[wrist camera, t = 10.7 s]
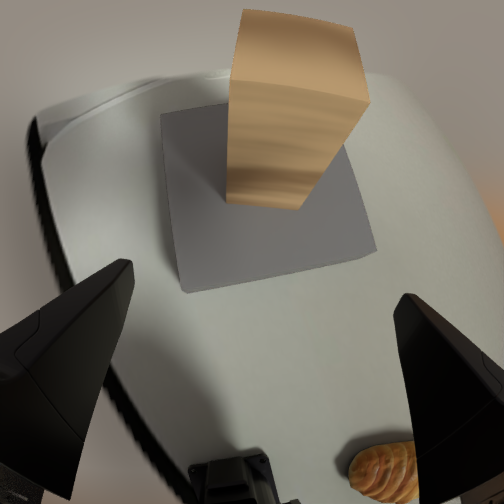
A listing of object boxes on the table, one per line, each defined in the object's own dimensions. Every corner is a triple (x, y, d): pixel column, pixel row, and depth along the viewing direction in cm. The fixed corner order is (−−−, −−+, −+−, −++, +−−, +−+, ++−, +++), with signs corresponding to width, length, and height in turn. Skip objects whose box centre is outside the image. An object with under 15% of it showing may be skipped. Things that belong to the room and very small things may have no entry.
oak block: (297, 210, 21) (370, 102, 9) (226, 203, 21) (229, 79, 9) (298, 149, 22) (352, 27, 10) (233, 142, 22) (243, 8, 10)
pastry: (330, 491, 20) (344, 512, 16) (362, 429, 21) (382, 444, 17) (405, 494, 20) (424, 509, 16) (434, 439, 21) (457, 450, 17)
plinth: (360, 258, 24) (377, 251, 21) (187, 293, 22) (181, 290, 19) (315, 115, 26) (324, 96, 23) (165, 134, 25) (160, 114, 22)
